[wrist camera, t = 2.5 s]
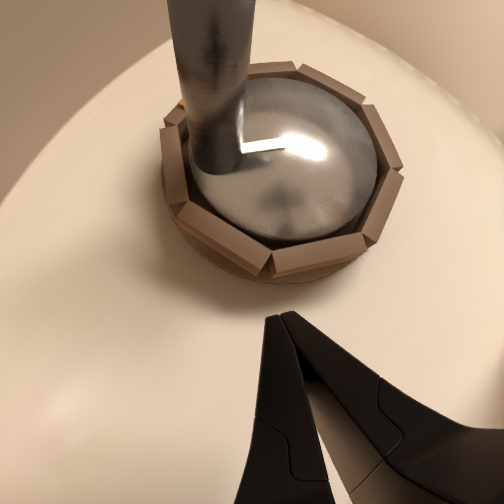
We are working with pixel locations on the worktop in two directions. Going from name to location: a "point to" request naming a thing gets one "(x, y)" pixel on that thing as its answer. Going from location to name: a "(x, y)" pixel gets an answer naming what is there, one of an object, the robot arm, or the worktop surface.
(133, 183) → the worktop surface
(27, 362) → the worktop surface
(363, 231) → the dial housing
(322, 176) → the dial
